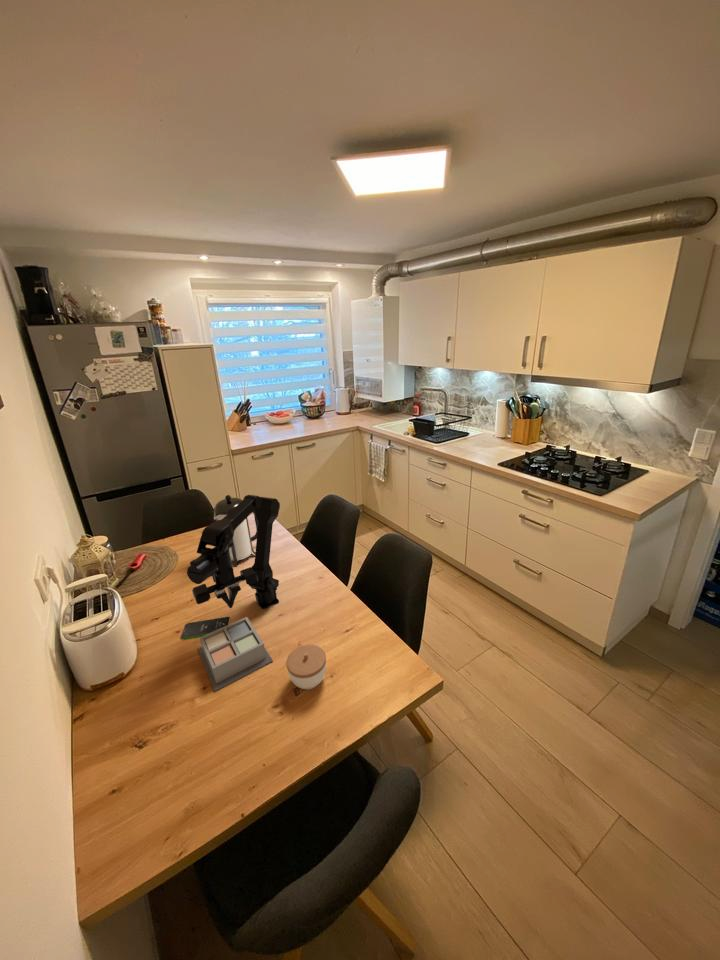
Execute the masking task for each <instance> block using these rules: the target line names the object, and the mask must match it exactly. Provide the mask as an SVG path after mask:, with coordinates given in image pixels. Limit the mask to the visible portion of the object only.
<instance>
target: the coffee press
mask: <svg viewBox="0 0 720 960" xmlns="http://www.w3.org/2000/svg"><path fill="white" fill-rule="evenodd" d="M224 497H225V498H223V499H221V500H219V501H218V502H217V503H216V504H215V506H214V509H213V512H214V513H213V520H215V521H219V520H221V519H223V518H224V517H225V516H226V515H227V514H228V513H230V512H231V511H232V510H233V509H234V508H235V507H236V506H237V505H238V504H239V503H240V502H241V501H242V500H243V499H241V498H238V497H232V496H231V495H230V494H227V495H225V496H224ZM252 514H253V517H254V523H255V527H256V530H255V531H256V532H255V534H254V535H253V536H251V531H250V525H249V520H248V517H247V518H246V519H245V520H244V521H243V522H242V523H241V524H240V525H239V526H238V527H237V528H236V529H235V531H234V536H233V538H232V539H231V541H230V542H231V543H234V545H233V546H232V547H230V548H229V552H230V557H231V562H233V567H238V565H239V561H241V560H244V559H246V558H248V557H249V556H252V557H253V558H255V552H256V551H255V550H254V548H253V547H254V546H253V541H255V540H256V541H257V531H258V521H257V519H256V516H255V514H254V511H253V512H252Z"/></svg>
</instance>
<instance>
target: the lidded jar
mask: <svg viewBox="0 0 720 960" xmlns="http://www.w3.org/2000/svg"><path fill="white" fill-rule="evenodd" d="M285 663H286V669H287V673H288V676H289V679H290V680H291V683H293V684H294V685H295V686H296V687H297V688H299V689H302V690H307V691H308V690H312V689H315V688H316V687H317V686H318V685H319V684H320V683H321V682H322V681H323V679H324V677H325V676H326V675H325V674H326V672H327V670H326V669H327V655H326V652H325V650H324V649H323V648H322V647H320V646H318V645H316V644H312V643H311V644H310V643H309V644H304V645H303V644H302V645H300V646H298V647H295V648H294V649H293V650H292V651H291V652H289V654H288V656H287V658H286V661H285Z"/></svg>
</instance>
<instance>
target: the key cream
mask: <svg viewBox="0 0 720 960" xmlns="http://www.w3.org/2000/svg"><path fill="white" fill-rule="evenodd" d="M227 641H228V640H227V638H226V636H225V634H224V633H223V632H222V633H219V634H217V635H215V636H213V637H211V638H208V639H206V640H205V643H206V646H207V649H208V650H210V649H212V648H214V647H216V646H219V645H221V644H223V643H225V642H227Z"/></svg>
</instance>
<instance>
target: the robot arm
mask: <svg viewBox="0 0 720 960" xmlns="http://www.w3.org/2000/svg"><path fill="white" fill-rule="evenodd" d="M241 500H242V501H241V502H240V503H239V504H238V505H237V506H236V507H235V508H234V509H233V510H232V511H231V512H230V513H228V514H227V515H226V516H225V517H224V518H223V519H221V520H219V521H217V520H215V521H213V522H211V523H210V524H209V525H207V526H205V528H203V530H202V532H201V536H200V538H199V539H200V540H199V542H198V546H197V550H196V554H200V555H199V556H198V557H197V558H195V559H192V560H191V561H190V562H189V566H188V567H187V568H186V569H187V570H186V574H187V575H186V576H187V577H188V578H189V580H190V581H191V582H192V583H193V584H195V585H197V586H194V587H193V588H192V595H193V597H194V601H195V602H196V604H197V605H201V604H203V603H206V602H209V601H210V599H211V594H212V593H213V594H214V595H215V597H216V599H218V600H219V599H221V600H222V601H224V602H225V604H226V605H227V607H228V608H229V609H231V608H233V606H234V603H235V599H236V597H237V595H238V593H239V592H240V591H241V590H242V588H241V585H240V583H243V582H245V583H246V585H248V587H250V588H251V589H252V590H255V592H254V595H255V596H254V597H255V602H256V604H257V605H258V606H259V607H260V608H261V609H262V610H265V609H267V608H270V607H272V606H274V605H276V604H278V603H280V600H279V599H278V597H277V590H278V587H279V585H280V583H279V582H280V580H279V579H277V578H274V577H273V575H274V572H273V569H272V566H271V565H270V555H271V547H272V546H271V545H272V536H273V535H272V533H273V525H274V522H275V521H276V519H277V518H278V517H279V512H280V509H281V508H280V507H281V506H280V505H281V504H280V502H279V500H278V499H277V498H274V497H266V496H259V495H254V494H247V495H245V496H244V497H243V499H241ZM253 511H254V513H253ZM251 514H253V515H254V514H255V516H256V519H257V521H258V531H257V530H256V531H257V539H256V544H255V545H256V546H255V551H254V552H255V554H254V555H255V557H254V562H253V563H254V564H253V565H252V566H251V567H247V568H245V569H242V570H240V571H239V574H240V575H238V576H235V572H234V566H233V563H232V562H233V561H231V557H230V552H229V548H230V547H232V546H233V545H234V543H231V542H230V541H231V539H232V538H233V536H234V531H235V529H236V528H237V527H238V526H239V525H240V524H241V523H242V522H243V521H244V520H245V519H246V518H247V519H248V517H249V516H250V515H251ZM207 546H211V547H213V548H211V547H207ZM211 577H212V580H213V582H214V583H215V584H212V585H210V586H207V585H206V583H203V582H205V581H206V580H207V579H209V578H211ZM226 589H227V592H226Z"/></svg>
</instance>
